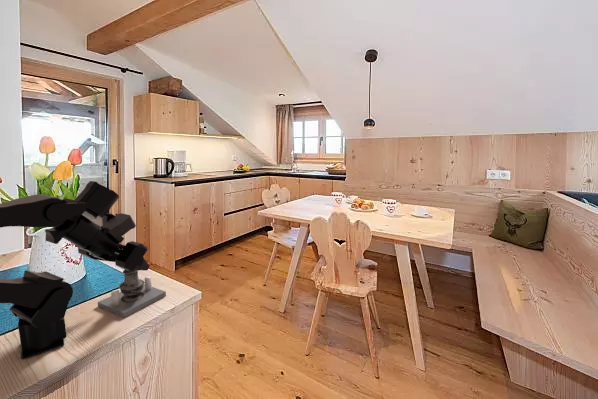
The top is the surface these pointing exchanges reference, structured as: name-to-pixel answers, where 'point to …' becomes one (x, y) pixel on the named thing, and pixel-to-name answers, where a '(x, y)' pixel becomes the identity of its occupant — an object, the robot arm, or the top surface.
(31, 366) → the top surface
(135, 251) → the robot arm
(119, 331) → the top surface
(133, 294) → the grey tall turned piece
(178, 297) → the top surface
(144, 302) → the pin tray
